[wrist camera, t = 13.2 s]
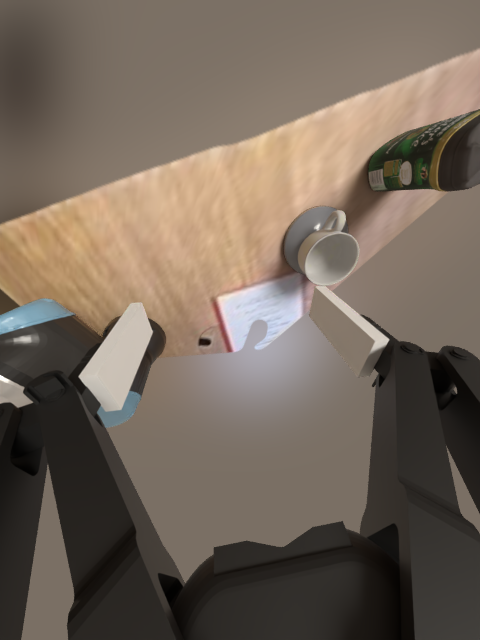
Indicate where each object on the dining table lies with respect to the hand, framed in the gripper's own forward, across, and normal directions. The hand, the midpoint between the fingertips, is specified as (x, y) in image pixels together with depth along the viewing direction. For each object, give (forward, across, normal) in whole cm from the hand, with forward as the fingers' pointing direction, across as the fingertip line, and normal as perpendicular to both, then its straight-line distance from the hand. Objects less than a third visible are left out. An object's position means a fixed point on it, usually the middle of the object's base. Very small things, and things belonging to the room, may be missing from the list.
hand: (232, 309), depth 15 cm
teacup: (+30, +22, -3) cm, 38 cm away
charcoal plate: (+32, +22, -3) cm, 39 cm away
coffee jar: (+32, +35, +11) cm, 49 cm away
